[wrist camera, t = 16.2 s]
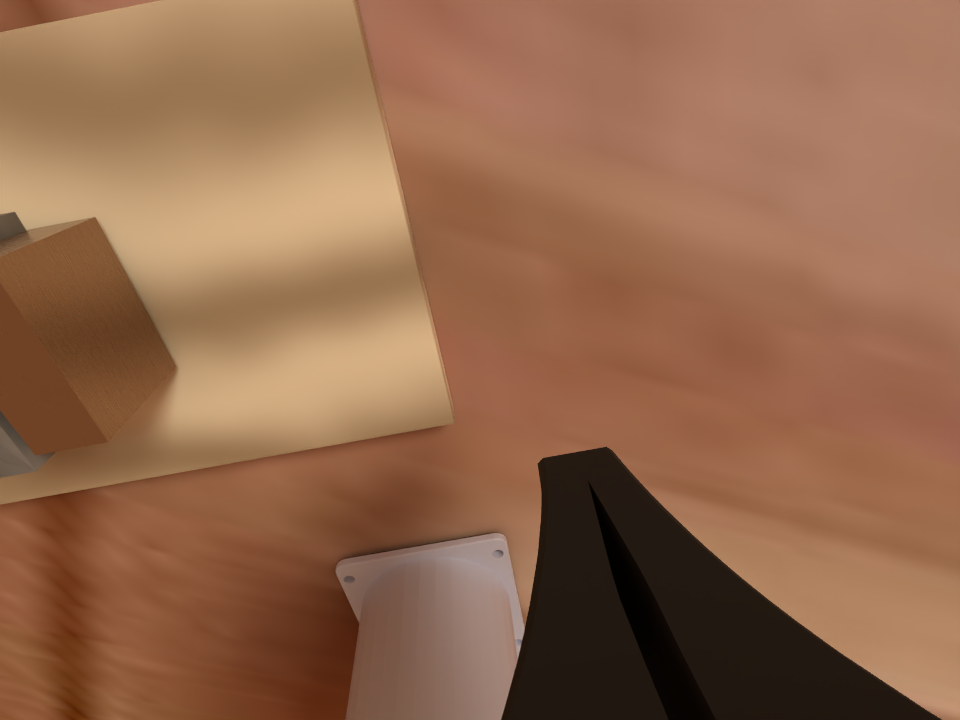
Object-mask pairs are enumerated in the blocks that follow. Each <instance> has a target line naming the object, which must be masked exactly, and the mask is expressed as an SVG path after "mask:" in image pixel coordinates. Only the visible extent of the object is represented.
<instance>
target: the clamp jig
mask: <svg viewBox="0 0 960 720" xmlns="http://www.w3.org/2000/svg"><path fill="white" fill-rule="evenodd" d="M92 217H96V219H97V221H98V223H99V224H100V226H101V228H102V230H103V232H104V234H105V236H106V237H107V239H108V241H109V243H110V245H111V247H112V248H113V250H114V252H115V254H116V256H117V258H118V260H119V261H120V263H121V265H122V267H123V269H124V271H125V272H126V274H127V276H128V278H129V280H130V282H131V284H132V285H133V287H134V289H135V291H136V293H137V295H138V296H139V298H140V300H141V302H142V304H143V306H144V308H145V309H146V311H147V313H148V315H149V317H150V319H151V320H152V322H153V324H154V326H155V328H156V330H157V332H158V333H159V335H160V337H161V339H162V341H163V343H164V344H165V346H166V348H167V350H168V352H169V354H170V356H171V357H172V359H173V361H174V363H175V365H176V367H175V369H174V370H173V371H172V372H171V373H170V374H169V375H168V376H167V377H166V379H165V380H164V381H163V382H162V383H161V384H160V385H159V386H158V387H157V389H156V390H155V391H154V392H153V393H152V394H151V395H150V396H149V398H148V399H147V400H146V401H145V402H144V403H143V404H142V405H141V406H140V408H139V409H138V410H137V411H136V412H135V413H134V414H133V415H132V417H131V418H130V419H129V420H128V421H127V422H126V423H125V424H124V425H123V427H122V428H121V429H120V430H119V431H118V432H117V433H116V434H115V436H114V437H113V438H112V439H111V440H110V441H109V442H107V443H102V444H96V445H90V446H85V447H79V448H74V449H68V450H63V451H57V452H52V453H46V454H41V455H35V454H34V453H33V452H32V451H31V449H30V448H29V447H28V445H27V444H26V443H25V442H24V440H23V439H22V438H21V437H20V435H19V434H18V433H17V431H16V430H15V429H14V428H13V426H12V425H11V424H10V422H9V421H8V420H7V419H6V417H5V416H4V415H3V414H2V412H1V411H0V505H1V504H6V503H12V502H17V501H23V500H29V499H34V498H40V497H45V496H51V495H57V494H62V493H68V492H73V491H79V490H85V489H90V488H96V487H101V486H107V485H113V484H118V483H124V482H129V481H135V480H141V479H146V478H152V477H157V476H163V475H169V474H174V473H180V472H185V471H191V470H197V469H202V468H208V467H213V466H219V465H225V464H230V463H236V462H241V461H247V460H253V459H258V458H264V457H269V456H275V455H281V454H286V453H292V452H297V451H303V450H308V449H314V448H320V447H325V446H331V445H336V444H342V443H348V442H353V441H359V440H364V439H370V438H376V437H381V436H387V435H392V434H398V433H404V432H409V431H415V430H420V429H426V428H432V427H437V426H443V425H448V424H454V407H453V403H452V399H451V394H450V390H449V386H448V382H447V377H446V373H445V369H444V365H443V361H442V356H441V352H440V348H439V344H438V339H437V335H436V331H435V327H434V323H433V318H432V314H431V310H430V306H429V301H428V297H427V293H426V289H425V284H424V280H423V276H422V272H421V268H420V263H419V259H418V255H417V251H416V246H415V242H414V238H413V234H412V230H411V225H410V221H409V217H408V213H407V208H406V204H405V200H404V196H403V192H402V187H401V183H400V179H399V175H398V170H397V166H396V162H395V158H394V154H393V149H392V145H391V141H390V137H389V132H388V128H387V124H386V120H385V116H384V111H383V107H382V103H381V99H380V94H379V90H378V86H377V82H376V78H375V73H374V69H373V65H372V61H371V56H370V52H369V48H368V44H367V40H366V35H365V31H364V27H363V23H362V18H361V14H360V10H359V6H358V2H357V0H160V1H155V2H150V3H145V4H140V5H135V6H130V7H125V8H120V9H115V10H110V11H105V12H100V13H95V14H90V15H85V16H80V17H75V18H70V19H65V20H60V21H55V22H50V23H45V24H40V25H35V26H30V27H25V28H20V29H15V30H10V31H5V32H0V240H2V239H5V238H7V237H10V236H13V235H15V234H18V233H20V232H23V231H26V230H29V229H34V228H40V227H45V226H50V225H55V224H61V223H66V222H71V221H76V220H82V219H87V218H92Z"/></svg>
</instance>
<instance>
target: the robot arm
mask: <svg viewBox="0 0 960 720" xmlns="http://www.w3.org/2000/svg"><path fill="white" fill-rule="evenodd" d="M538 469H539V476H540V483H541V490H542V508H541V526H540V537H539V549H538V557H537V564H536V570H535V576H534V583H533V589H532V595H531V601H530V606H529V611H528V616H527V621H526V626H525V627H524V622H523V617H522V612H521V608H520V603H519V598H518V593H517V588H516V583H515V579H514V574H513V569H512V564H511V559H510V554H509V549H508V545H507V540H506V537H505V536H504V535H503V534H500V533H492V534H486V535H480V536H474V537H469V538H463V539H457V540H451V541H445V542H440V543H434V544H428V545H422V546H417V547H411V548H405V549H399V550H394V551H388V552H382V553H376V554H371V555H365V556H359V557H353V558H348V559H343V560H340V561H339V562H338V563H337V565H336V569H335V573H336V575H337V578H338V580H339V582H340V584H341V586H342V588H343V590H344V592H345V595H346V597H347V599H348V601H349V603H350V605H351V607H352V609H353V611H354V614H355V616H356V618H357V620H358V622H359V630H358V637H357V644H356V651H355V658H354V665H353V672H352V679H351V686H350V692H349V699H348V706H347V713H346V720H942V719H940V718H938V717H937V716H935V715H933V714H932V713H930V712H929V711H927V710H925V709H924V708H922V707H921V706H919V705H918V704H916V703H915V702H913V701H912V700H910V699H909V698H907V697H906V696H904V695H903V694H901V693H900V692H898V691H897V690H895V689H894V688H892V687H891V686H889V685H888V684H886V683H885V682H883V681H882V680H880V679H879V678H877V677H876V676H874V675H873V674H871V673H870V672H868V671H867V670H865V669H864V668H862V667H861V666H859V665H858V664H856V663H855V662H853V661H852V660H850V659H849V658H847V657H846V656H844V655H843V654H841V653H840V652H838V651H837V650H835V649H834V648H833V647H831V646H830V645H828V644H827V643H826V642H824V641H823V640H822V639H820V638H819V637H817V636H816V635H815V634H813V633H812V632H811V631H809V630H808V629H806V628H805V627H804V626H802V625H801V624H800V623H798V622H797V621H795V620H794V619H793V618H792V617H790V616H789V615H788V614H786V613H785V612H784V611H782V610H781V609H780V608H779V607H777V606H776V605H775V604H773V603H772V602H771V601H769V600H768V599H767V598H766V597H764V596H763V595H762V594H761V593H759V592H758V591H757V590H756V589H754V588H753V587H752V586H751V585H749V584H748V583H747V582H746V581H745V580H743V579H742V578H741V577H740V576H739V575H737V574H736V573H735V572H734V571H733V570H731V569H730V568H729V567H728V566H727V565H726V564H725V563H723V562H722V561H721V560H720V559H719V558H718V557H717V556H715V555H714V554H713V553H712V552H711V551H710V550H708V549H707V548H706V547H705V546H704V545H703V544H702V543H701V542H700V541H699V540H698V539H696V538H695V537H694V536H693V535H692V534H691V533H690V532H689V531H688V530H687V529H686V528H685V527H684V526H683V525H682V524H681V523H680V522H679V521H678V520H676V519H675V518H674V517H673V516H672V515H671V514H670V513H669V512H668V511H667V510H666V509H665V508H664V507H663V506H662V505H661V504H660V503H659V502H658V501H657V500H656V499H655V498H654V497H653V496H652V495H651V494H650V492H649V491H648V490H647V489H646V488H645V487H644V486H643V485H642V484H641V483H640V482H639V481H638V480H637V479H636V477H635V476H634V475H633V474H632V473H631V472H630V471H629V470H628V469H627V467H626V466H625V465H624V464H623V463H622V462H621V460H620V459H619V458H618V457H617V456H616V454H615V453H614V452H613V451H612V450H611V449H609V448H608V447H603V448H597V449H592V450H586V451H580V452H575V453H569V454H563V455H558V456H552V457H546V458H543V459H542V460H541V461H540V462H539V463H538ZM496 550H499V551H496Z"/></svg>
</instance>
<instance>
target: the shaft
mask: <svg viewBox="0 0 960 720" xmlns="http://www.w3.org/2000/svg"><path fill="white" fill-rule="evenodd" d="M175 367H176V365H175V363H174V361H173V359H172V357H171V356H170V354H169V352H168V350H167V348H166V346H165V344H164V343H163V341H162V339H161V337H160V335H159V333H158V332H157V330H156V328H155V326H154V324H153V322H152V320H151V319H150V317H149V315H148V313H147V311H146V309H145V308H144V306H143V304H142V302H141V300H140V298H139V296H138V295H137V293H136V291H135V289H134V287H133V285H132V284H131V282H130V280H129V278H128V276H127V274H126V272H125V271H124V269H123V267H122V265H121V263H120V261H119V260H118V258H117V256H116V254H115V252H114V250H113V248H112V247H111V245H110V243H109V241H108V239H107V237H106V236H105V234H104V232H103V230H102V228H101V226H100V224H99V223H98V221H97V219H96V217H92V218H87V219H82V220H76V221H71V222H66V223H61V224H55V225H50V226H45V227H40V228H34V229H29V230H26V231H23V232H20V233H18V234H15V235H13V236H10V237H7V238H5V239H2V240H0V411H1V412H2V414H3V415H4V416H5V417H6V419H7V420H8V421H9V422H10V424H11V425H12V426H13V428H14V429H15V430H16V431H17V433H18V434H19V435H20V437H21V438H22V439H23V440H24V442H25V443H26V444H27V445H28V447H29V448H30V449H31V451H32V452H33V453H34V454H35V455H41V454H46V453H52V452H57V451H63V450H68V449H74V448H79V447H85V446H90V445H96V444H102V443H107V442H109V441H110V440H111V439H112V438H113V437H114V436H115V434H116V433H117V432H118V431H119V430H120V429H121V428H122V427H123V425H124V424H125V423H126V422H127V421H128V420H129V419H130V418H131V417H132V415H133V414H134V413H135V412H136V411H137V410H138V409H139V408H140V406H141V405H142V404H143V403H144V402H145V401H146V400H147V399H148V398H149V396H150V395H151V394H152V393H153V392H154V391H155V390H156V389H157V387H158V386H159V385H160V384H161V383H162V382H163V381H164V380H165V379H166V377H167V376H168V375H169V374H170V373H171V372H172V371H173V370H174V369H175Z"/></svg>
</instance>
